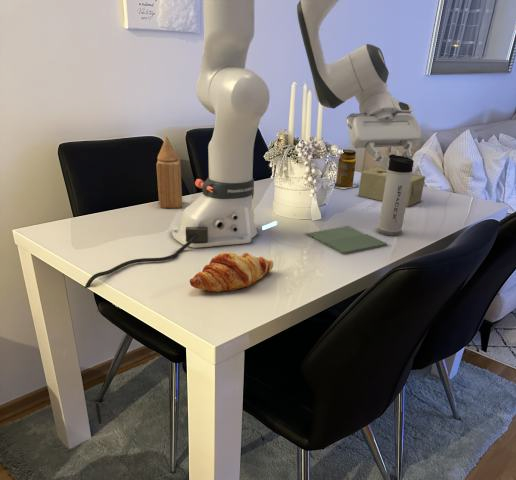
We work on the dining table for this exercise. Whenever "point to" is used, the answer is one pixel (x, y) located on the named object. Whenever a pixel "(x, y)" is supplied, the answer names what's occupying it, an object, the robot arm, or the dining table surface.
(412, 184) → the tissue box
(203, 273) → the croissant
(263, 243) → the dining table surface
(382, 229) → the travel mug
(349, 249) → the napkin
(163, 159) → the decorative item
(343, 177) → the condiment
